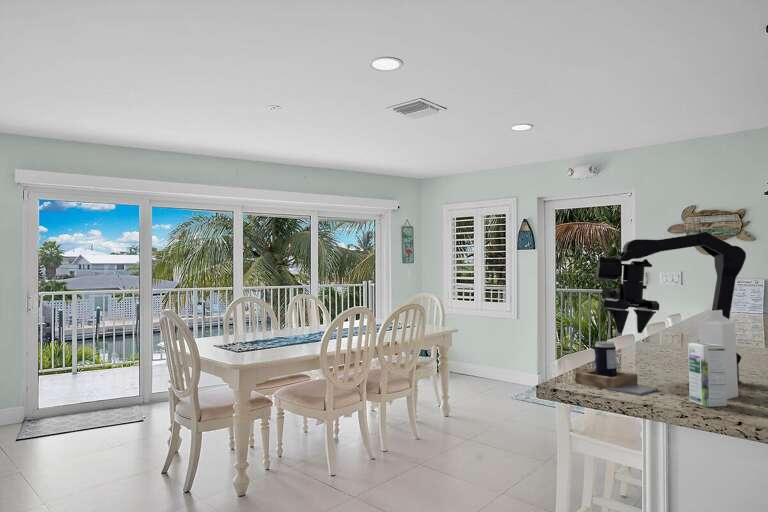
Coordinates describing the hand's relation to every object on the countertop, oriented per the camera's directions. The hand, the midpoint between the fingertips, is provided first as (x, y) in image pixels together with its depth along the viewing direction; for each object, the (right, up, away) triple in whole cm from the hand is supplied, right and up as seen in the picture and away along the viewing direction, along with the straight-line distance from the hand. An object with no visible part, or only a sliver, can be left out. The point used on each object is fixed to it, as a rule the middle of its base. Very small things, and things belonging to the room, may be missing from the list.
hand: (629, 333), depth 151 cm
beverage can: (-9, -14, -5) cm, 18 cm away
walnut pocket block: (-9, -14, -5) cm, 18 cm away
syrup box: (+5, -13, -30) cm, 33 cm away
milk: (+13, -13, -22) cm, 28 cm away
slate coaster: (-6, -14, -14) cm, 20 cm away
